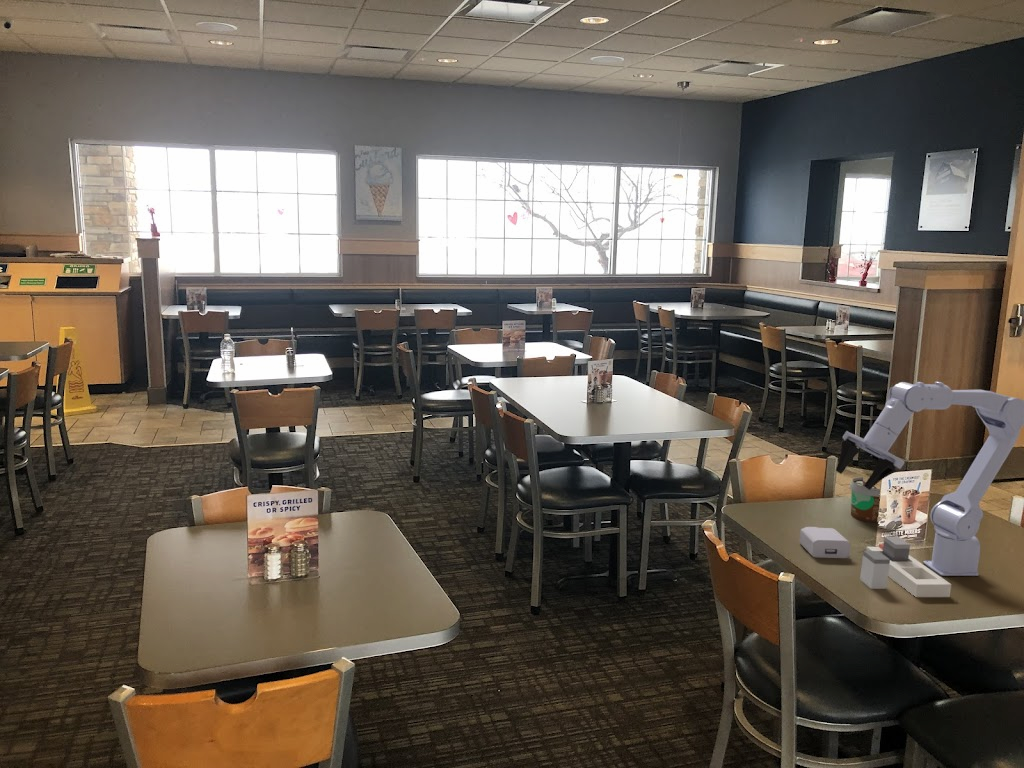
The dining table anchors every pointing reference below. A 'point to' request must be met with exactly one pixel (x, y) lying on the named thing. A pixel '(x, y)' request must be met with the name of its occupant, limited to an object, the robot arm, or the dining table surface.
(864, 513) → the food container
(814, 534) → the charger
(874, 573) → the grey plug
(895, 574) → the power strip
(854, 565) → the dining table surface
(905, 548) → the charcoal plug
